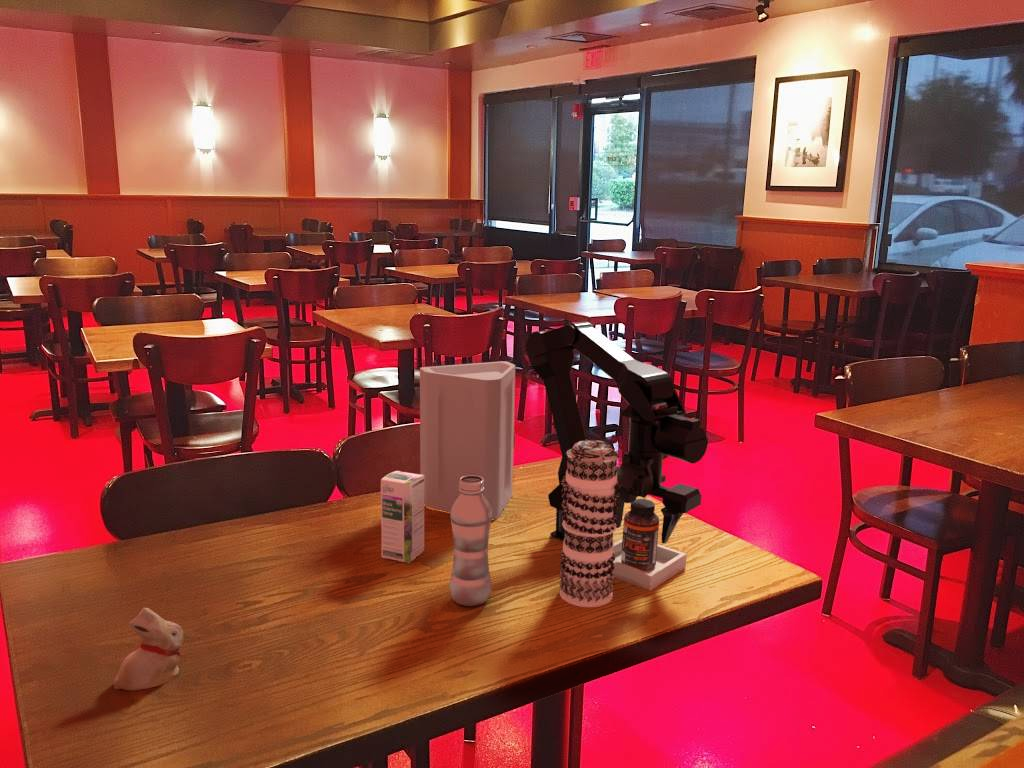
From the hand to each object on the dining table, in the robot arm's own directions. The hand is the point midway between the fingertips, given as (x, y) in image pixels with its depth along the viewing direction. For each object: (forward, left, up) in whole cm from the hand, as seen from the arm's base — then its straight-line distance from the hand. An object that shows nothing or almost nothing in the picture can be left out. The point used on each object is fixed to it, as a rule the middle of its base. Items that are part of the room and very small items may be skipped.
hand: (640, 535), depth 139 cm
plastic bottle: (-13, -28, -6) cm, 32 cm away
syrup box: (-33, -24, -6) cm, 41 cm away
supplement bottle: (0, 0, -6) cm, 6 cm away
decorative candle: (-1, -14, -6) cm, 15 cm away
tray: (0, 0, -6) cm, 6 cm away
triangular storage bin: (-39, +1, -6) cm, 40 cm away
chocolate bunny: (-29, -71, -6) cm, 77 cm away
